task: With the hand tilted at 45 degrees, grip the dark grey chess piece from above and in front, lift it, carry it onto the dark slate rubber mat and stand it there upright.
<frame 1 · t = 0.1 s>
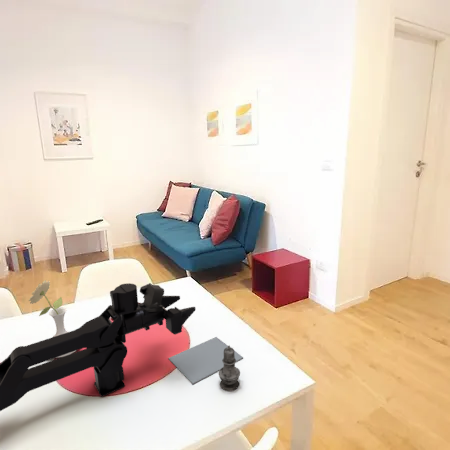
hand: (187, 302, 101), 17 cm above the table, tool horizontal, fingers open, 9 cm apart
flower in vase: (61, 352, 105), on the table
dark grey chess piece: (229, 384, 90), on the table
cell phone: (130, 313, 129), on the table
mat: (205, 358, 100), on the table
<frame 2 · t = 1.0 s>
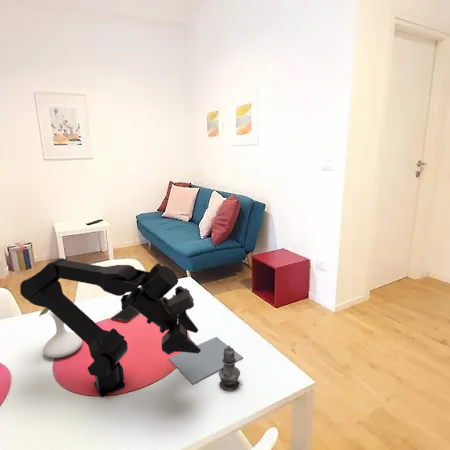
hand: (198, 341, 86), 14 cm above the table, tool tilted 45°, fingers open, 9 cm apart
nothing on the table moved.
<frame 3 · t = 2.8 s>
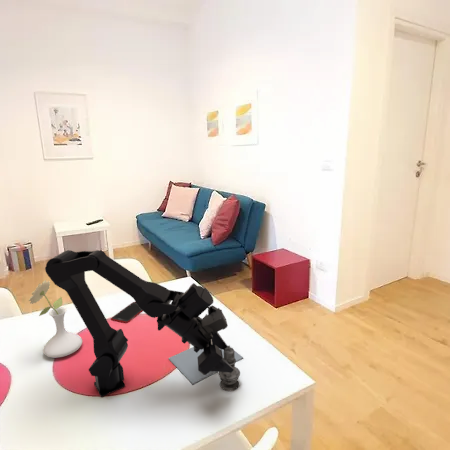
hand: (229, 359, 88), 8 cm above the table, tool tilted 45°, fingers open, 9 cm apart
nothing on the table moved.
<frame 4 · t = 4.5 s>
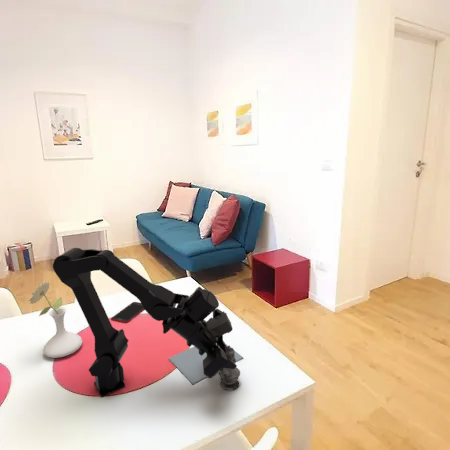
hand: (234, 362, 88), 7 cm above the table, tool tilted 45°, fingers closed on dark grey chess piece, 4 cm apart
dark grey chess piece: (229, 384, 90), on the table, touching gripper
everything else where it was.
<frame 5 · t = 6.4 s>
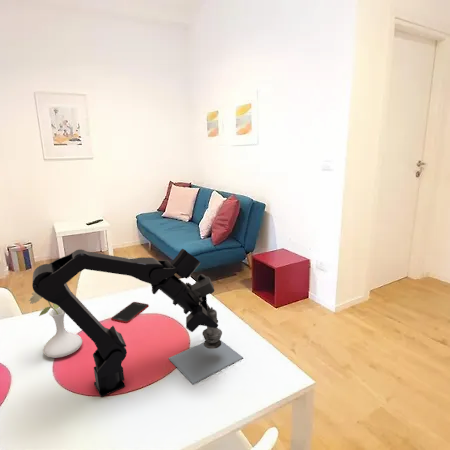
hand: (216, 323, 97), 12 cm above the table, tool tilted 45°, fingers closed on dark grey chess piece, 4 cm apart
dark grey chess piece: (212, 344, 98), point 5 cm above the table, touching gripper
everything else where it was.
when the fingers open (8 cm above the table, at t = 8.3 s): dark grey chess piece stays where it is, resting on mat.
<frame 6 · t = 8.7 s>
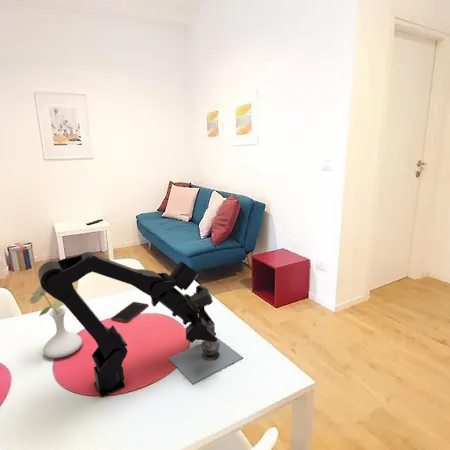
hand: (215, 332, 100), 8 cm above the table, tool tilted 45°, fingers open, 8 cm apart
dark grey chess piece: (210, 355, 101), resting on mat
everything else where it was.
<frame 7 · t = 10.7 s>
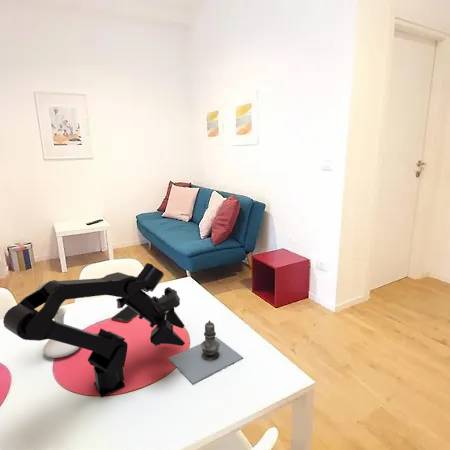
hand: (183, 335, 98), 8 cm above the table, tool tilted 45°, fingers open, 9 cm apart
nothing on the table moved.
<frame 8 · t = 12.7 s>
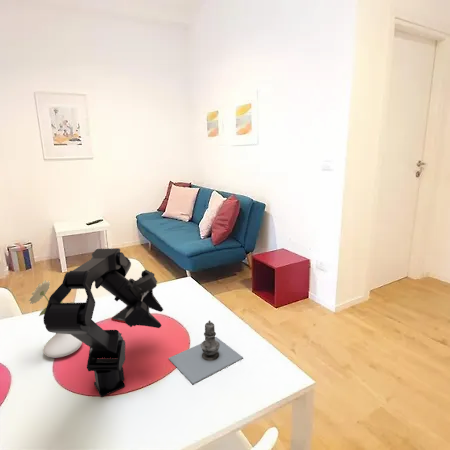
hand: (161, 318, 98), 14 cm above the table, tool tilted 45°, fingers open, 9 cm apart
nothing on the table moved.
at the end: dark grey chess piece inside the target area on the mat (1.8 cm from its centre), point 0.2 cm above the mat's base; dark grey chess piece tilted 0°; the gripper is holding nothing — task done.
